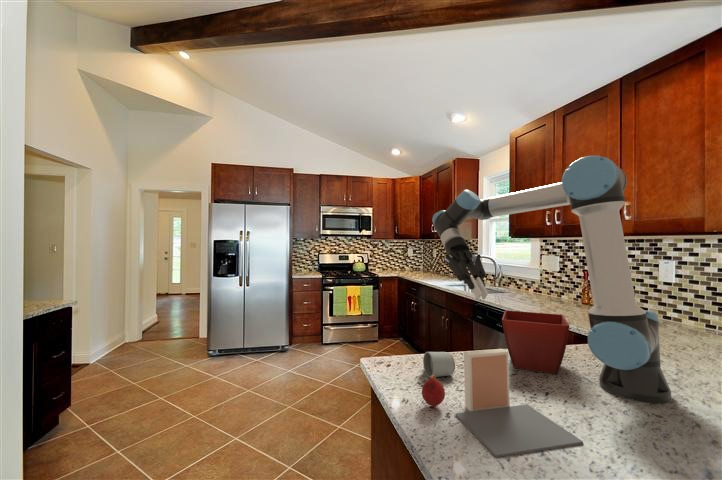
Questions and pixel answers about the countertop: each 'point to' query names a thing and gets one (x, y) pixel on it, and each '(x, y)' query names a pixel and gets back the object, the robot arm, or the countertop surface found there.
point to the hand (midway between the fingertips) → (482, 296)
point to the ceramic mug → (438, 364)
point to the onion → (433, 392)
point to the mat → (516, 430)
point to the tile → (486, 379)
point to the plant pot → (535, 340)
